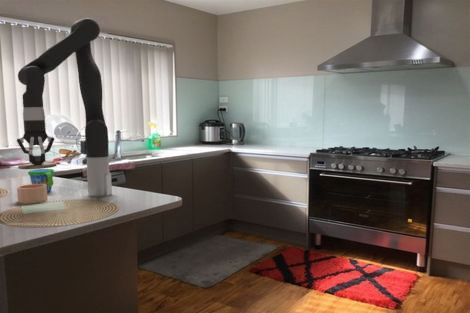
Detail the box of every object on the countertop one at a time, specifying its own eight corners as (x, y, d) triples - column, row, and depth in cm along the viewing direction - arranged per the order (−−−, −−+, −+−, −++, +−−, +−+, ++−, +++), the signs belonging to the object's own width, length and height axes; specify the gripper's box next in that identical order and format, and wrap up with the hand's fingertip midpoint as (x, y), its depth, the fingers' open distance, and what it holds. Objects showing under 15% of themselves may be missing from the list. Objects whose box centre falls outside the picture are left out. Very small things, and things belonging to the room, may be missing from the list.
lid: (62, 164, 169) (61, 153, 168) (47, 169, 155) (46, 157, 155) (29, 164, 169) (28, 154, 169) (11, 169, 156) (10, 158, 155)
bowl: (52, 199, 177) (51, 183, 176) (39, 204, 166) (38, 188, 165) (27, 199, 177) (26, 183, 177) (12, 204, 166) (11, 188, 166)
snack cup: (24, 191, 194) (22, 169, 193) (46, 188, 202) (45, 167, 201) (37, 195, 184) (36, 173, 183) (61, 192, 191) (59, 170, 190)
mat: (67, 210, 156) (67, 208, 156) (23, 215, 149) (23, 213, 149) (62, 202, 169) (62, 201, 169) (21, 207, 162) (21, 205, 162)
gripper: (53, 118, 167) (55, 161, 169) (13, 119, 160) (17, 164, 162) (55, 118, 160) (57, 163, 162) (13, 119, 154) (17, 166, 156)
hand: (37, 163), depth 162 cm, fingers closed on lid, 3 cm apart
